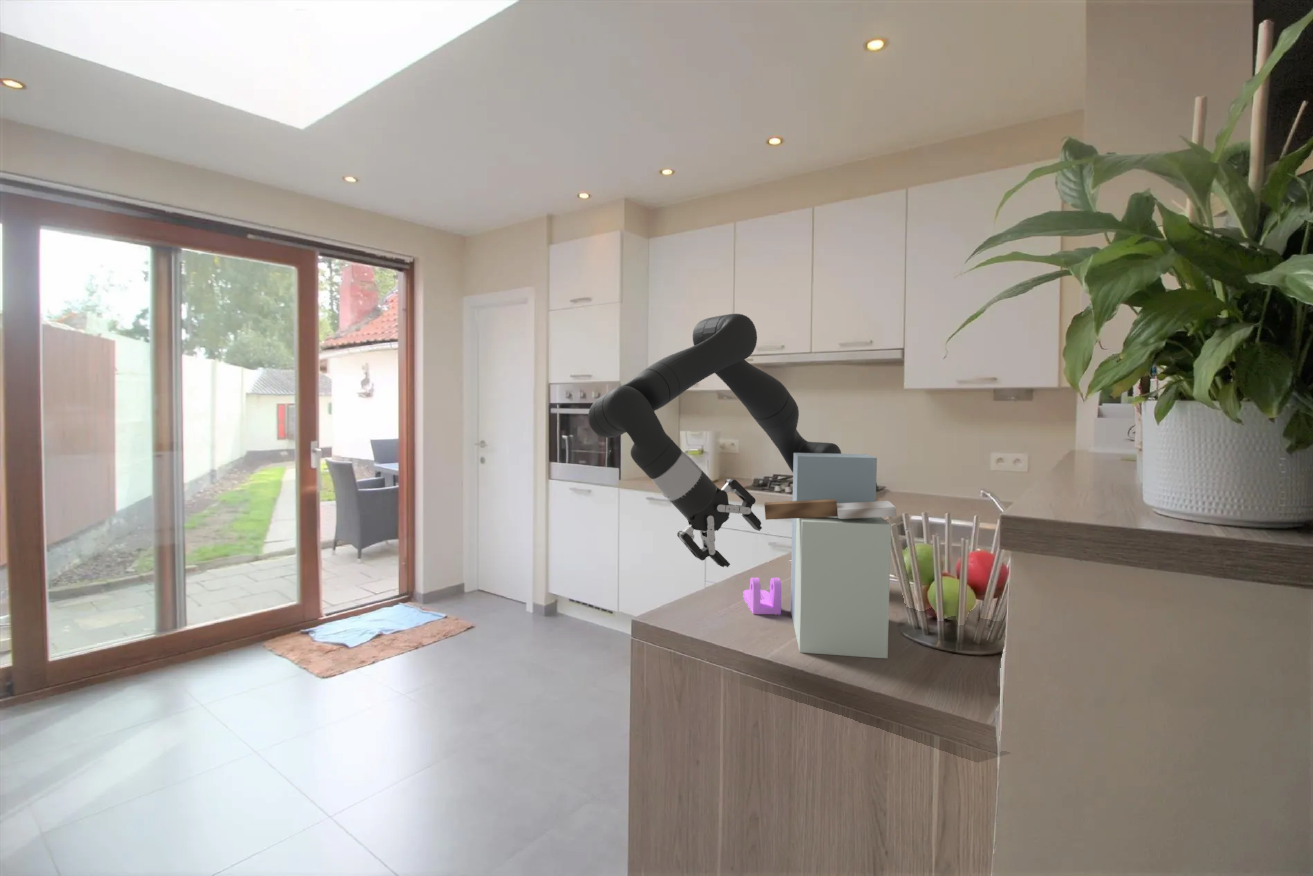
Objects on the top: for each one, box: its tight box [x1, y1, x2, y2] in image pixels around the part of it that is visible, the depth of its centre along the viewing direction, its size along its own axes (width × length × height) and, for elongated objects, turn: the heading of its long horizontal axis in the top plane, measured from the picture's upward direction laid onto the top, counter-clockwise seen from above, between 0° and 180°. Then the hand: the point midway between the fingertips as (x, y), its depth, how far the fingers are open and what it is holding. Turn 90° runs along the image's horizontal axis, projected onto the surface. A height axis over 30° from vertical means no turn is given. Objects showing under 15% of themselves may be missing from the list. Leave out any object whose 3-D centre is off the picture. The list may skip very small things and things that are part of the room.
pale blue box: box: [789, 453, 892, 659], centre depth 108 cm, size 14×22×32 cm, turn 171°
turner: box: [764, 499, 898, 521], centre depth 102 cm, size 21×7×3 cm, turn 78°
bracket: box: [742, 577, 782, 616], centre depth 124 cm, size 13×6×7 cm, turn 2°
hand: (743, 546), depth 104 cm, fingers open, 8 cm apart
